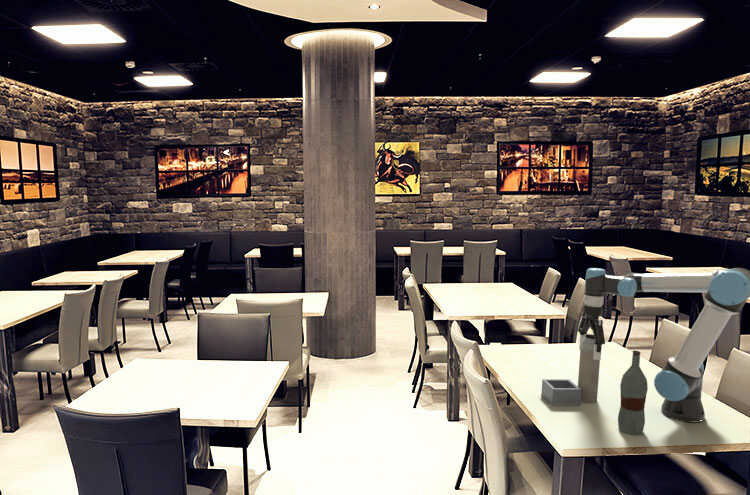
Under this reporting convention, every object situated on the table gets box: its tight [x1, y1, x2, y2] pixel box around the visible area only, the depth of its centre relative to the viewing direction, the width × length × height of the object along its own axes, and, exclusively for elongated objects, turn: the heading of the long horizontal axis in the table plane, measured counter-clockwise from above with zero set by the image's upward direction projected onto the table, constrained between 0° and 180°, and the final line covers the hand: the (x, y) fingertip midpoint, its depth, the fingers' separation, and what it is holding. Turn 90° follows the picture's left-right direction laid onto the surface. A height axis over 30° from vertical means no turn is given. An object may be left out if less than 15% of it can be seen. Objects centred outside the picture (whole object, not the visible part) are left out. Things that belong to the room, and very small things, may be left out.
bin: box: [541, 378, 582, 407], centre depth 230 cm, size 12×12×7 cm
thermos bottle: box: [577, 333, 601, 404], centre depth 230 cm, size 8×8×28 cm
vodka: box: [617, 350, 649, 436], centre depth 201 cm, size 9×9×30 cm
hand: (589, 354), depth 230 cm, fingers open, 13 cm apart
